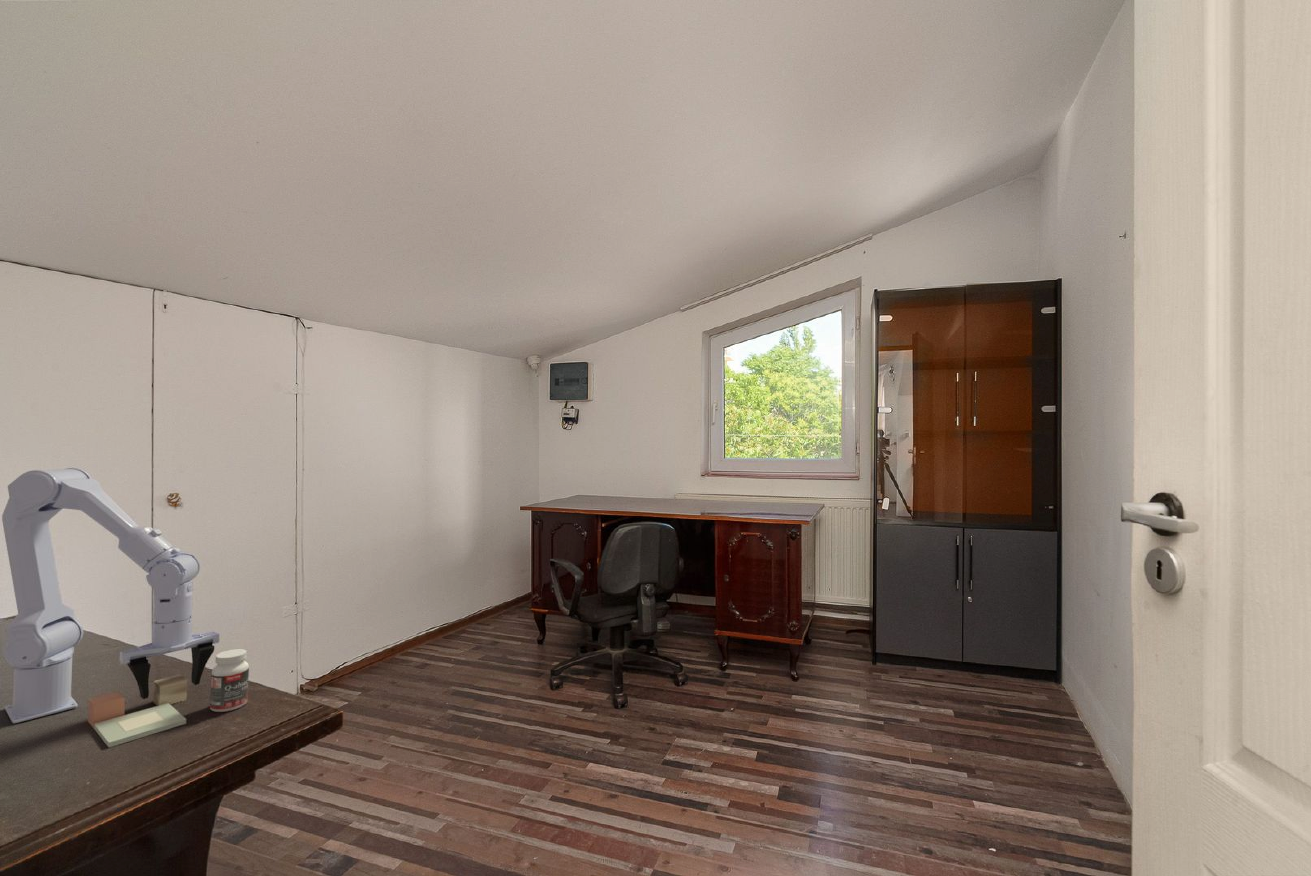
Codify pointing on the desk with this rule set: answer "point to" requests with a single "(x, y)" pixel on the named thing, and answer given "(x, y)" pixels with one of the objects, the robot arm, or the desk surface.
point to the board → (138, 724)
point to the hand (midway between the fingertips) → (170, 689)
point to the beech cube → (170, 690)
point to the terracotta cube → (105, 707)
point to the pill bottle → (229, 681)
